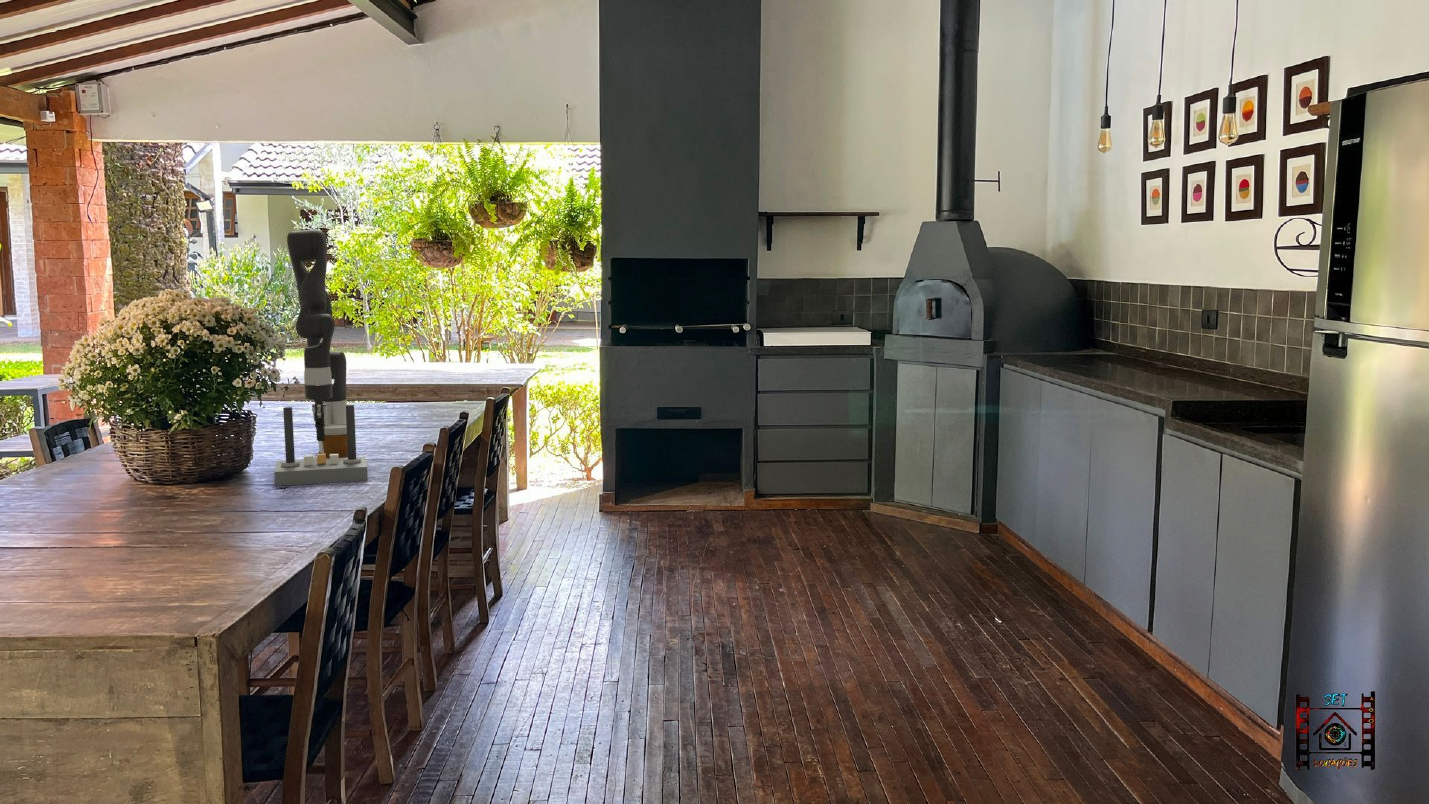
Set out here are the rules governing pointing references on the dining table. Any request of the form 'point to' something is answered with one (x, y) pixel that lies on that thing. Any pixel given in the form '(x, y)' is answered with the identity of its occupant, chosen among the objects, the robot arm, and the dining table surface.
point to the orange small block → (321, 458)
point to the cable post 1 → (289, 439)
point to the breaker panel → (320, 471)
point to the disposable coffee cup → (335, 440)
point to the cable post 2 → (351, 436)
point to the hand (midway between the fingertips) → (320, 440)
